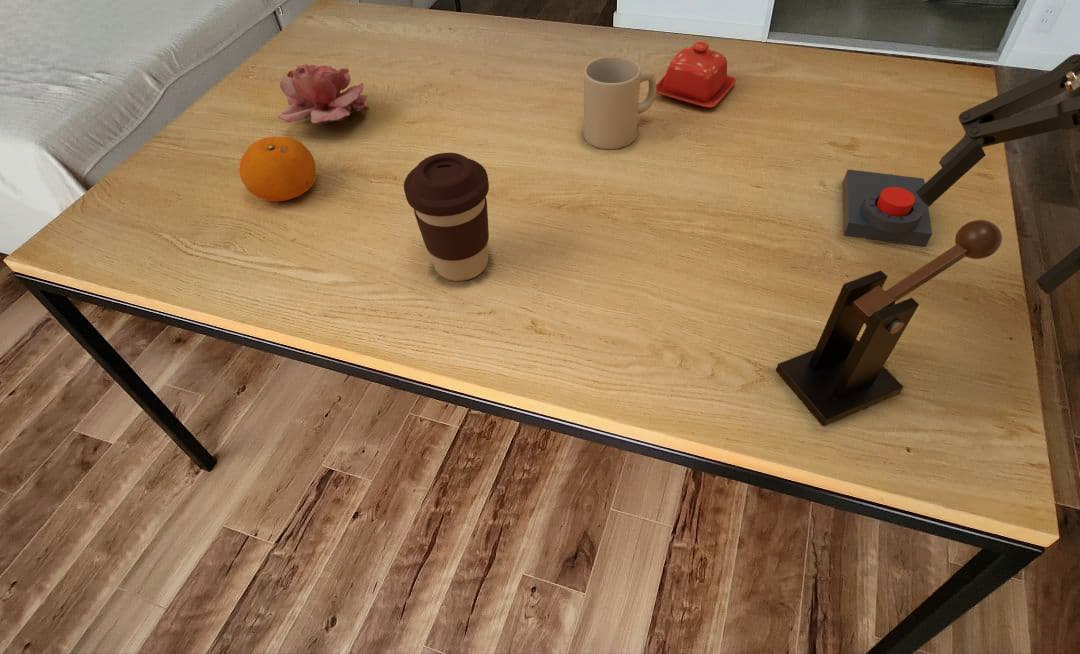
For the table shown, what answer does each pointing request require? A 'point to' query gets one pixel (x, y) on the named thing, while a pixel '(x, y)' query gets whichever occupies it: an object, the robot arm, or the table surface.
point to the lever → (934, 266)
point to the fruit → (277, 168)
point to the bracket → (850, 356)
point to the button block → (878, 225)
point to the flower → (320, 94)
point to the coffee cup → (451, 213)
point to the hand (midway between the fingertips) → (977, 240)
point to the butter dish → (697, 76)
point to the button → (895, 201)
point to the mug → (614, 101)
